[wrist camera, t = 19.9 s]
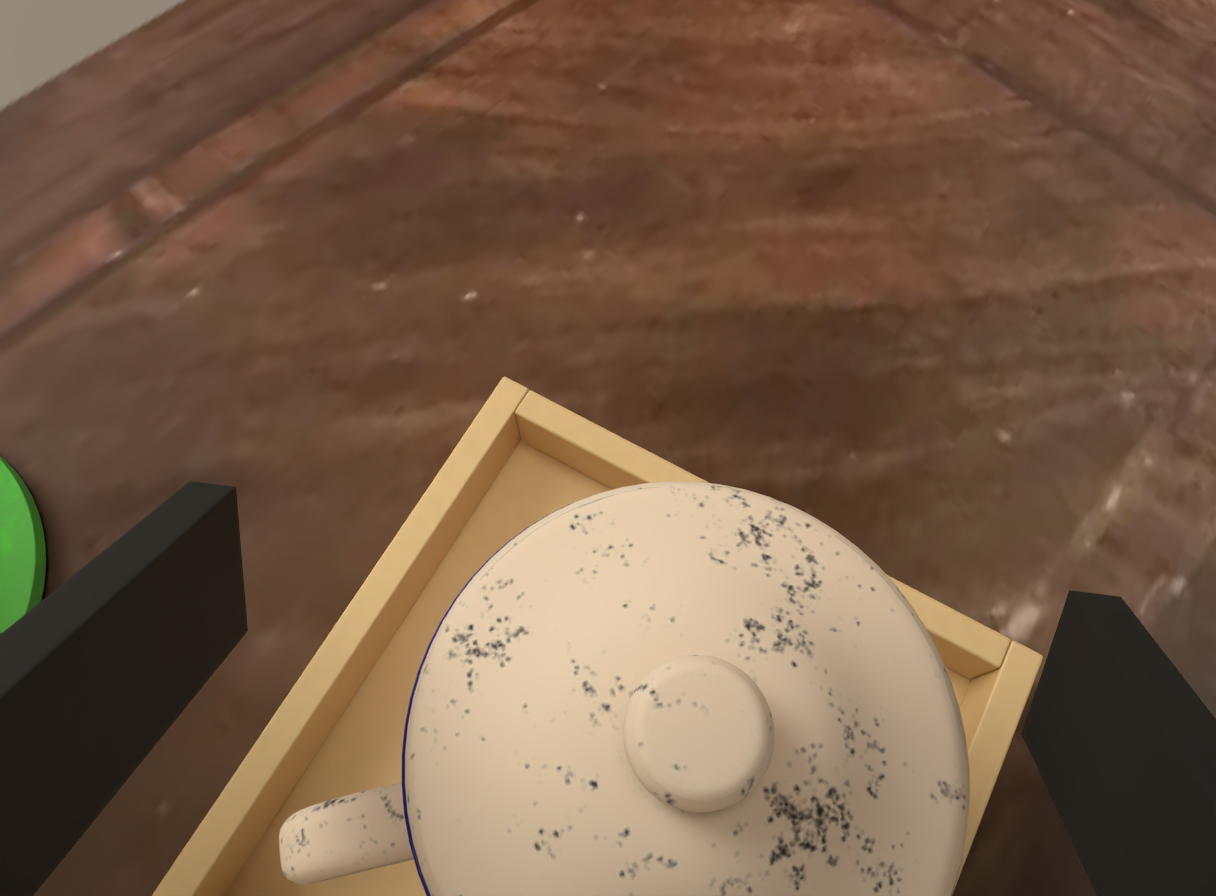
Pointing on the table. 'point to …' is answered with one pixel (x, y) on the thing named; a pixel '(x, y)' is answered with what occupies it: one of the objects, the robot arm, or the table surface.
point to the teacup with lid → (668, 718)
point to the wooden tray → (415, 605)
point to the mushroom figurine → (19, 549)
